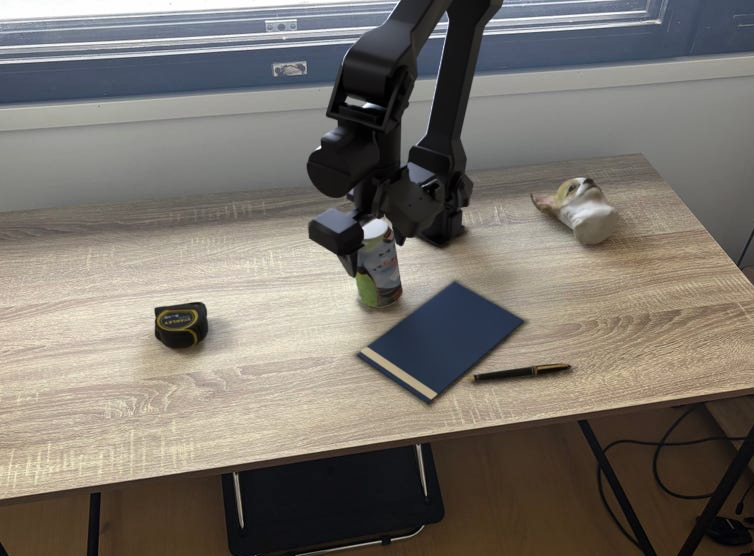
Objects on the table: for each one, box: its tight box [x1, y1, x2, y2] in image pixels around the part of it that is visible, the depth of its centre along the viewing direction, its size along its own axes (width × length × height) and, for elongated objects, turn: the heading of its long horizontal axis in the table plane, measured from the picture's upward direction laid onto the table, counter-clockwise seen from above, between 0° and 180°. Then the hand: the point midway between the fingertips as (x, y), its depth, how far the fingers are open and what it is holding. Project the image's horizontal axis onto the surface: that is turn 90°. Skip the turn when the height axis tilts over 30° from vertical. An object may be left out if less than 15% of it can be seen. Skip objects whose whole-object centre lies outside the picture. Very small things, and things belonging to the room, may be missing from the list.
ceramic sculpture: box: [529, 177, 621, 245], centre depth 111 cm, size 11×9×15 cm
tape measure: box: [153, 301, 209, 350], centre depth 95 cm, size 7×7×4 cm
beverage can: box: [354, 218, 403, 309], centre depth 98 cm, size 6×7×12 cm
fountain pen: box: [463, 363, 572, 382], centre depth 91 cm, size 14×1×2 cm, turn 99°
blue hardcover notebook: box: [356, 281, 525, 405], centre depth 96 cm, size 12×20×1 cm, turn 136°
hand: (376, 260), depth 97 cm, fingers open, 9 cm apart
